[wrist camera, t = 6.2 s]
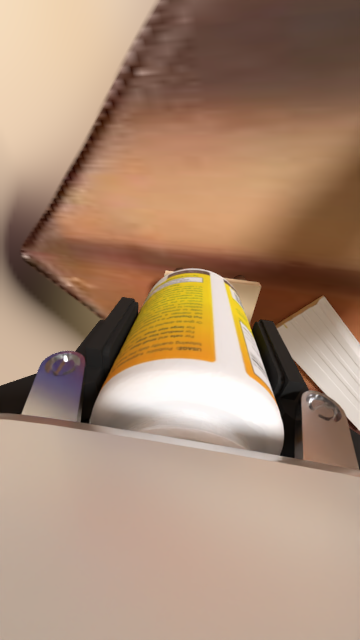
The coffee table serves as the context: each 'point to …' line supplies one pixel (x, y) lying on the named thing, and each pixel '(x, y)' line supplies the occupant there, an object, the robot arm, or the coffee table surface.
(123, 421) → the supplement bottle
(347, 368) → the baseboard
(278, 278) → the coffee table surface
